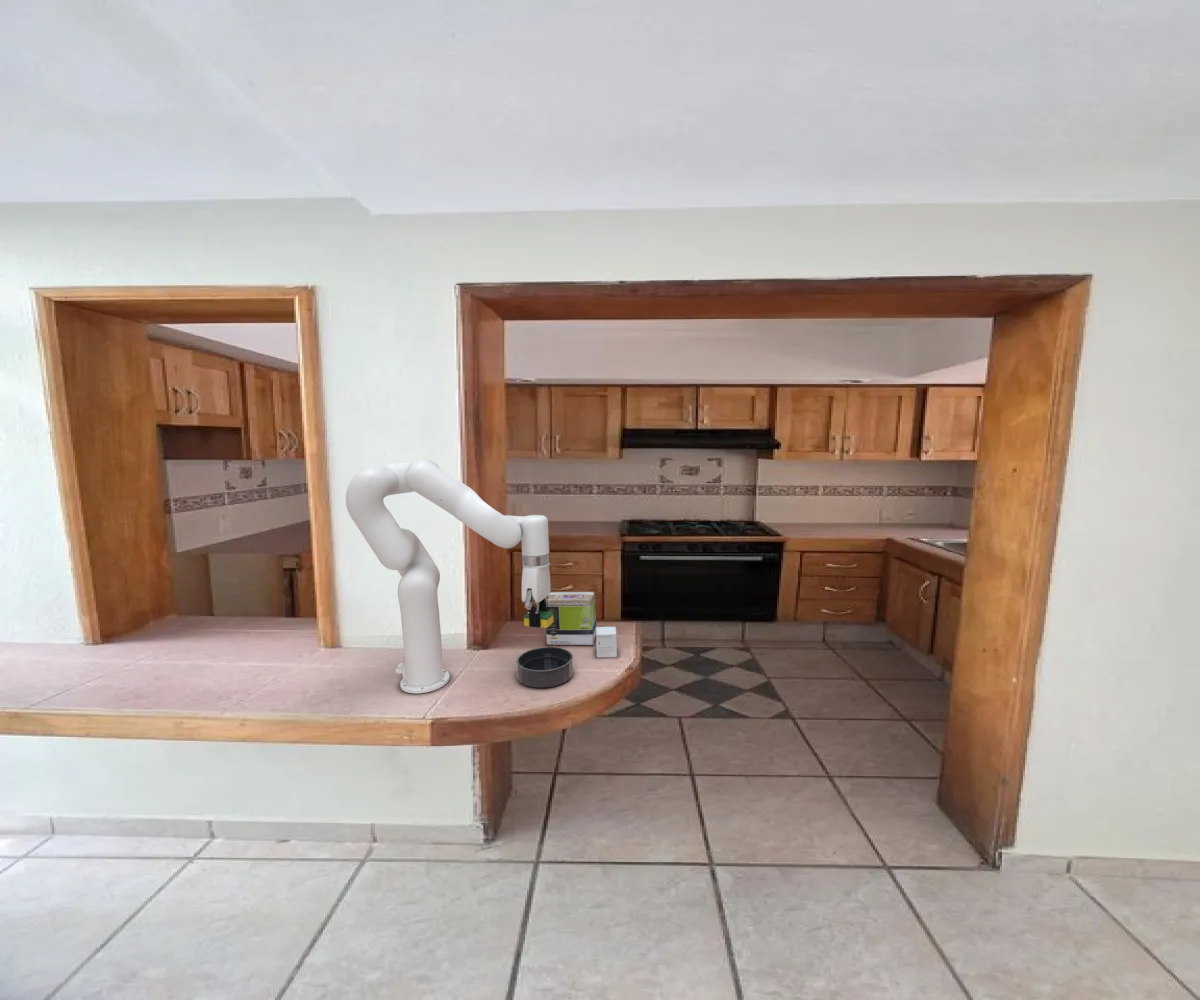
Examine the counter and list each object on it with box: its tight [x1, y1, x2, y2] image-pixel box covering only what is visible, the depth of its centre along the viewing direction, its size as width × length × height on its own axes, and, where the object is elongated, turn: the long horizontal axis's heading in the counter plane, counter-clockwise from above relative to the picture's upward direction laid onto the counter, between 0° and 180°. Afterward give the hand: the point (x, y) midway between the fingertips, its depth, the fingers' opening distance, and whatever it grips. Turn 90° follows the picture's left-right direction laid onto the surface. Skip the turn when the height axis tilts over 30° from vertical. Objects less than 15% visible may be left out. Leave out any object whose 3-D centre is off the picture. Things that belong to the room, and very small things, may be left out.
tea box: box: [545, 591, 597, 646], centre depth 160 cm, size 15×10×15 cm, turn 84°
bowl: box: [515, 646, 574, 689], centre depth 136 cm, size 15×15×5 cm
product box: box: [595, 626, 618, 658], centre depth 149 cm, size 6×6×7 cm
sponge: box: [523, 611, 554, 629], centre depth 139 cm, size 7×4×3 cm, turn 73°
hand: (538, 622), depth 139 cm, fingers closed on sponge, 4 cm apart
